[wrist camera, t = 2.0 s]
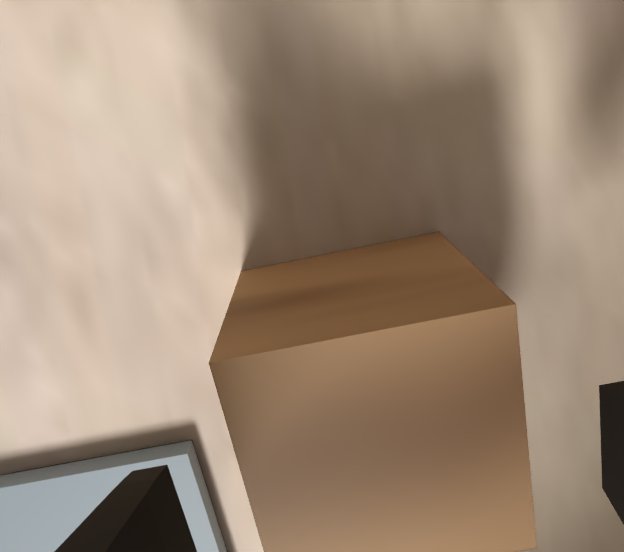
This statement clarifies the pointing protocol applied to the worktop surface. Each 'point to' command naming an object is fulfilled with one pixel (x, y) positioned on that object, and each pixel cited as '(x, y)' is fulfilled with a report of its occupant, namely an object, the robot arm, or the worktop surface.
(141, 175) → the worktop surface
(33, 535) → the slate board
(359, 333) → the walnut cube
